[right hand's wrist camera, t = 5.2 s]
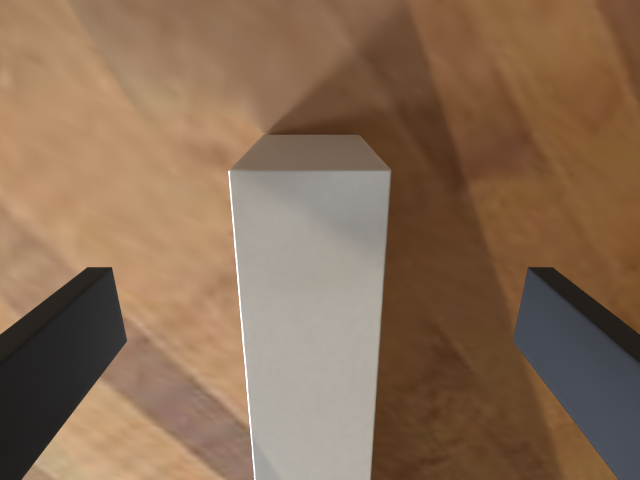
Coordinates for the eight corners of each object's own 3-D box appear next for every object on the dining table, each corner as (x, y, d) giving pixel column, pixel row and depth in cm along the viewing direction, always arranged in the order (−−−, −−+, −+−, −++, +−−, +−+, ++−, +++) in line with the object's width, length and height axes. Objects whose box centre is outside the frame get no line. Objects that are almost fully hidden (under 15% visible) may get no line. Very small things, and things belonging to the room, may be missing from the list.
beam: (345, 539, 32) (356, 698, 24) (283, 540, 32) (273, 700, 24) (359, 134, 20) (391, 169, 12) (262, 134, 20) (227, 169, 12)
